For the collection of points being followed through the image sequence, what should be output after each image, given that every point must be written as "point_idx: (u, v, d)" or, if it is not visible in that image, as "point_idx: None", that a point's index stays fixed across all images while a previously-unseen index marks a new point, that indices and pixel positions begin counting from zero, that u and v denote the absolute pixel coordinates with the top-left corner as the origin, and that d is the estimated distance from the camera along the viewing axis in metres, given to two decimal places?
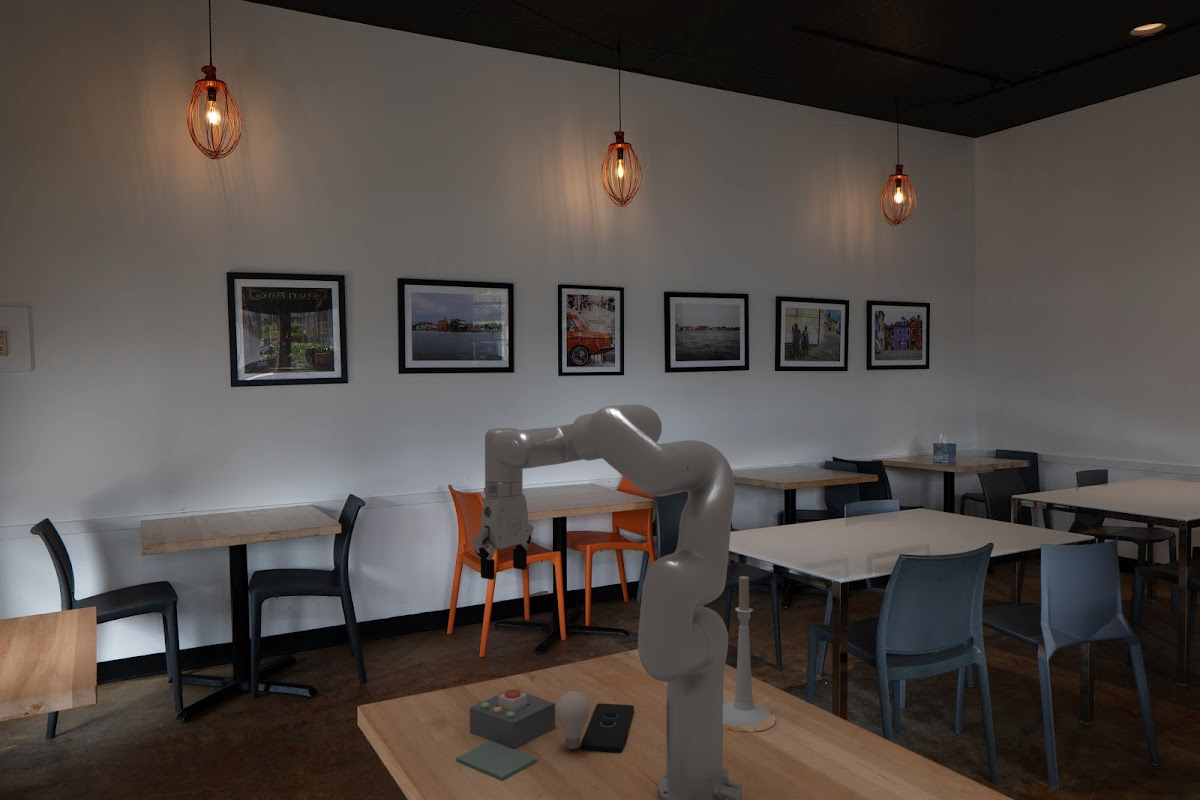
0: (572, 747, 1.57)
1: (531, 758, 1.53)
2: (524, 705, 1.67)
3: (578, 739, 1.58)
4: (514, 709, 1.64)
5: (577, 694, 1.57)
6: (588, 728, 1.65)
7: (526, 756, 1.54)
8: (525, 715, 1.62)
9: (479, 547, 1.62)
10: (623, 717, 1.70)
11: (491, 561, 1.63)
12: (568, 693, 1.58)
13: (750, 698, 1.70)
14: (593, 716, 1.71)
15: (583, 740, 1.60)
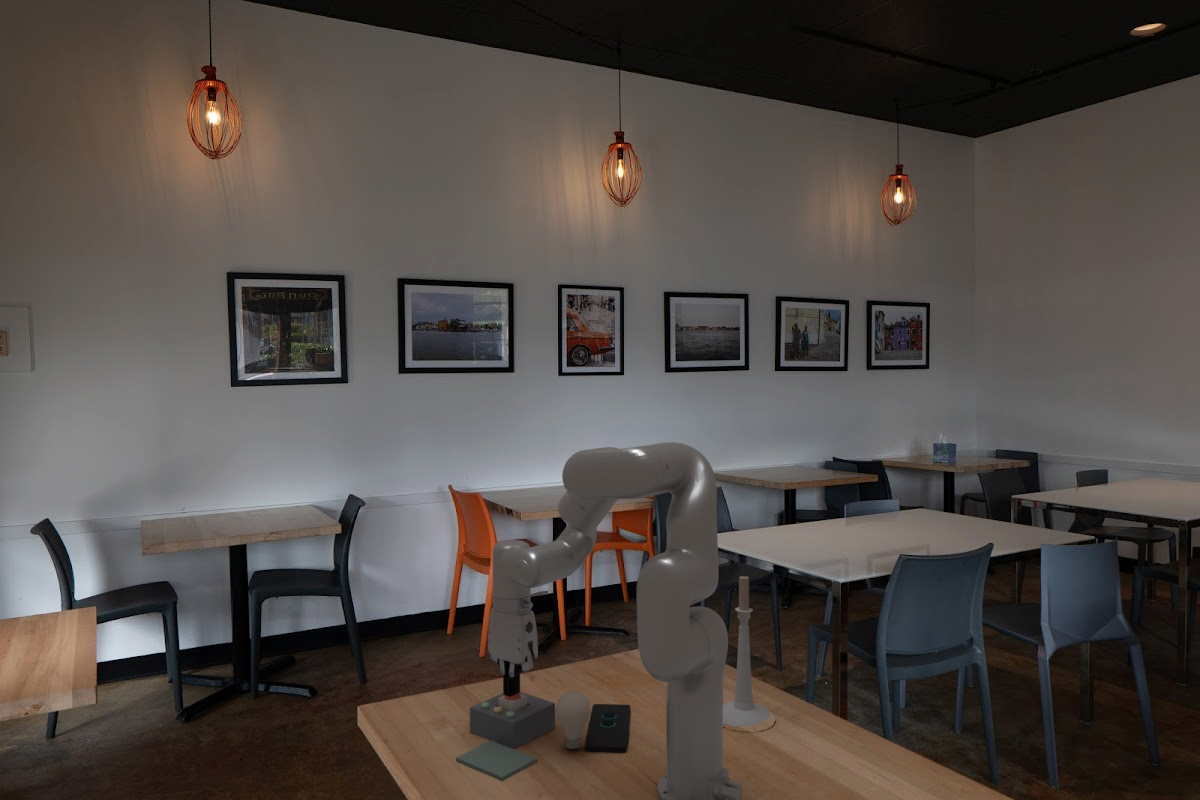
0: (572, 747, 1.57)
1: (531, 758, 1.53)
2: None
3: (578, 739, 1.58)
4: (514, 711, 1.64)
5: (577, 694, 1.57)
6: (589, 729, 1.65)
7: (526, 756, 1.54)
8: (525, 715, 1.62)
9: None
10: (622, 717, 1.70)
11: None
12: (568, 693, 1.58)
13: (750, 698, 1.70)
14: (592, 717, 1.70)
15: (586, 741, 1.59)
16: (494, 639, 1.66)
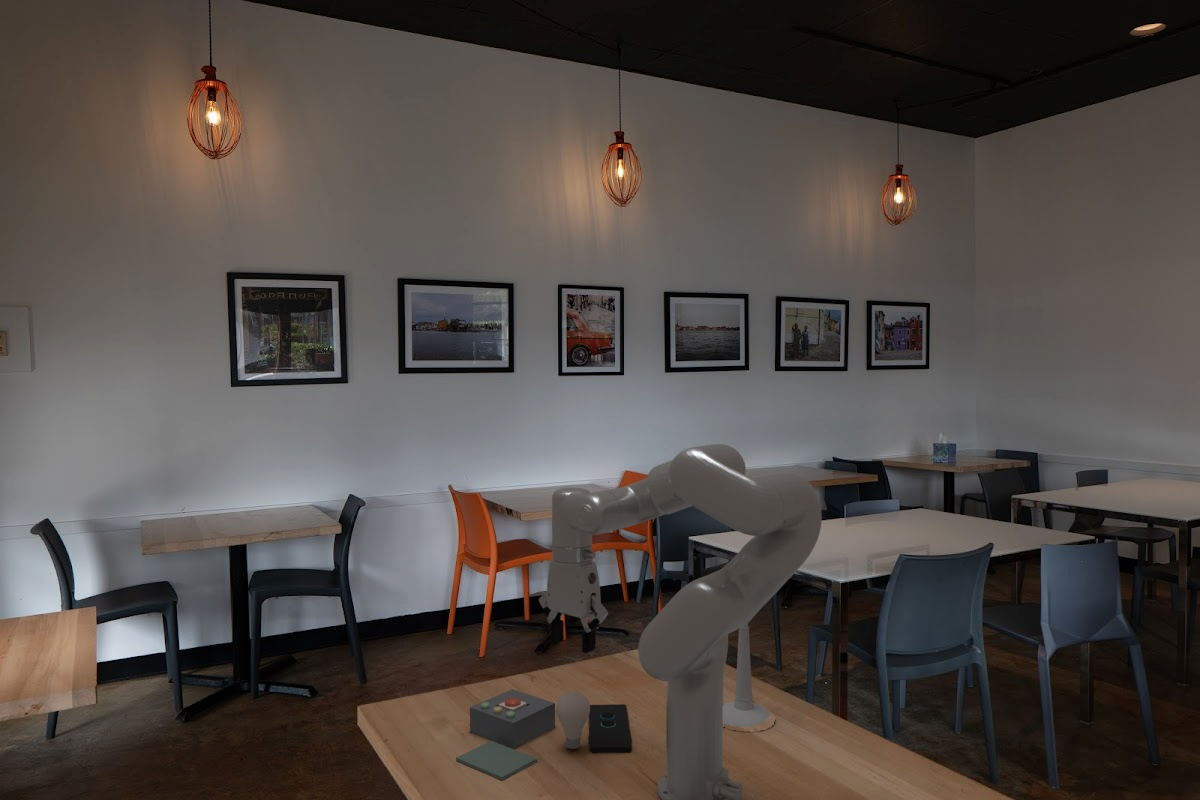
0: (572, 747, 1.57)
1: (531, 758, 1.53)
2: None
3: (578, 739, 1.58)
4: None
5: (577, 694, 1.57)
6: (590, 730, 1.64)
7: (526, 756, 1.54)
8: (525, 715, 1.62)
9: None
10: (621, 717, 1.70)
11: None
12: (568, 693, 1.58)
13: (750, 698, 1.70)
14: (590, 718, 1.70)
15: (591, 742, 1.59)
16: (554, 592, 1.57)
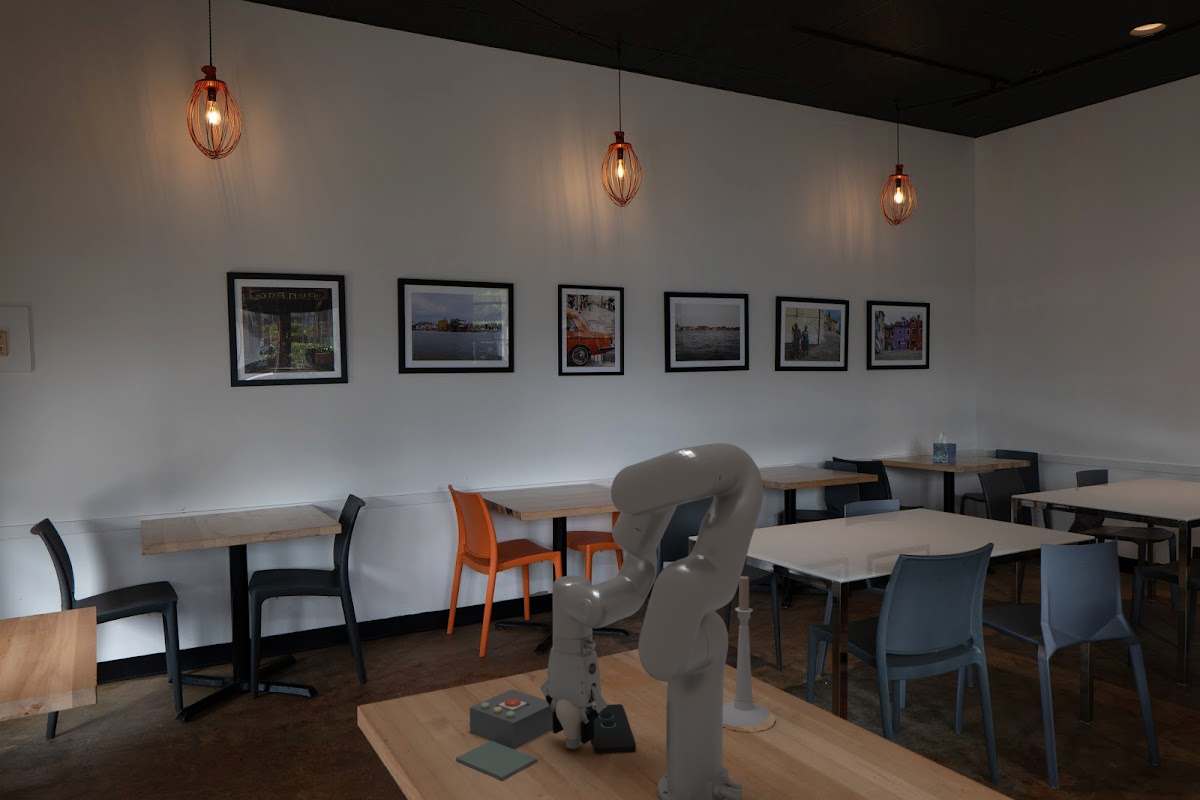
0: (572, 747, 1.57)
1: (531, 758, 1.53)
2: None
3: (578, 739, 1.58)
4: None
5: None
6: None
7: (526, 756, 1.54)
8: (525, 715, 1.62)
9: None
10: (619, 717, 1.70)
11: None
12: None
13: (750, 698, 1.70)
14: None
15: (595, 743, 1.58)
16: (554, 681, 1.58)
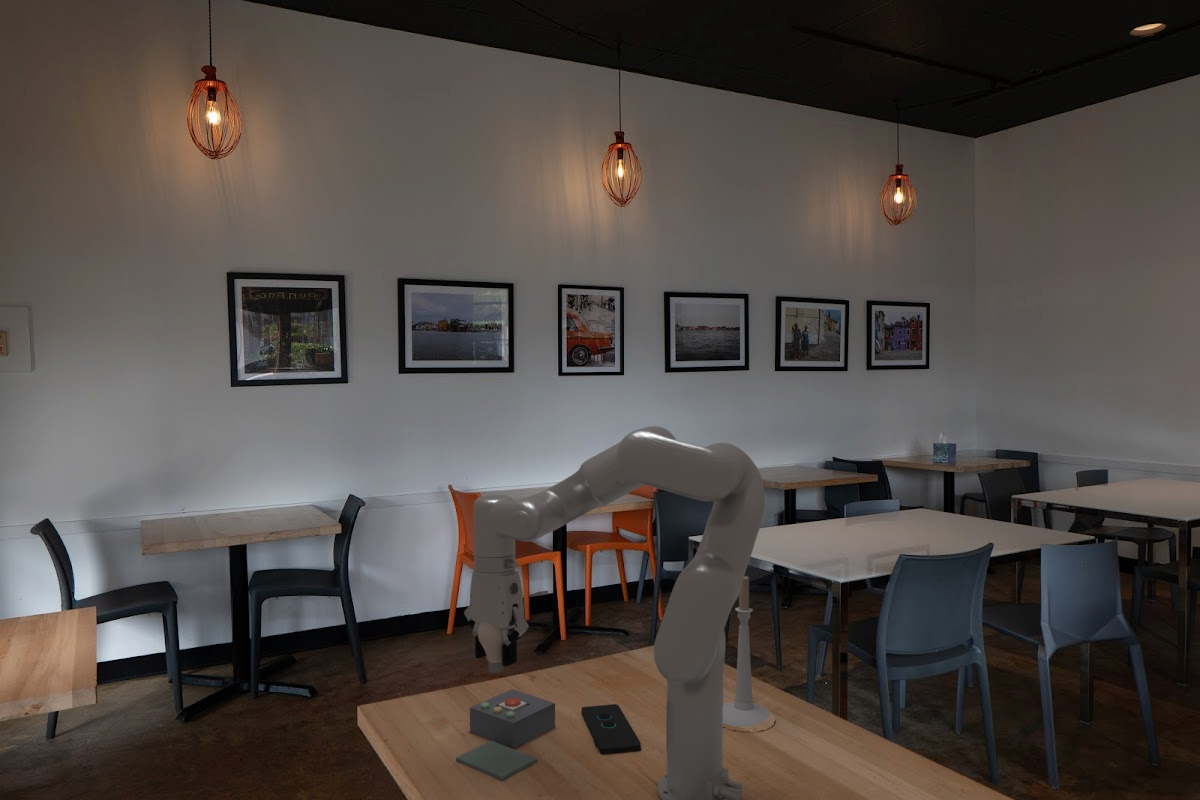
0: (494, 671, 1.52)
1: (531, 758, 1.53)
2: None
3: (501, 663, 1.52)
4: None
5: None
6: (594, 732, 1.63)
7: (526, 756, 1.54)
8: (525, 715, 1.62)
9: None
10: (618, 716, 1.70)
11: None
12: None
13: (750, 698, 1.70)
14: (588, 720, 1.69)
15: (600, 744, 1.58)
16: (476, 603, 1.52)
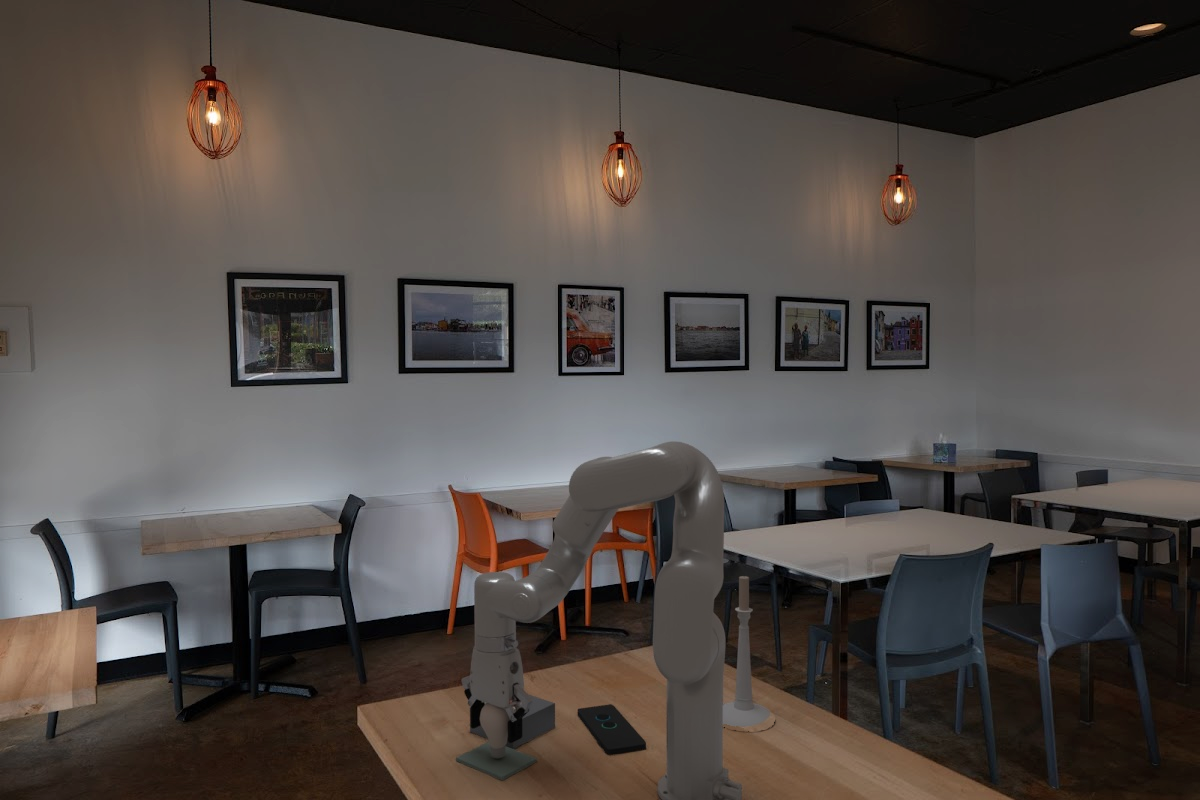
0: (496, 756, 1.52)
1: (531, 758, 1.53)
2: None
3: (502, 748, 1.53)
4: None
5: None
6: (596, 733, 1.63)
7: (526, 756, 1.54)
8: (525, 715, 1.62)
9: None
10: (616, 716, 1.70)
11: None
12: None
13: (750, 698, 1.70)
14: (587, 721, 1.68)
15: (605, 745, 1.58)
16: (477, 681, 1.53)
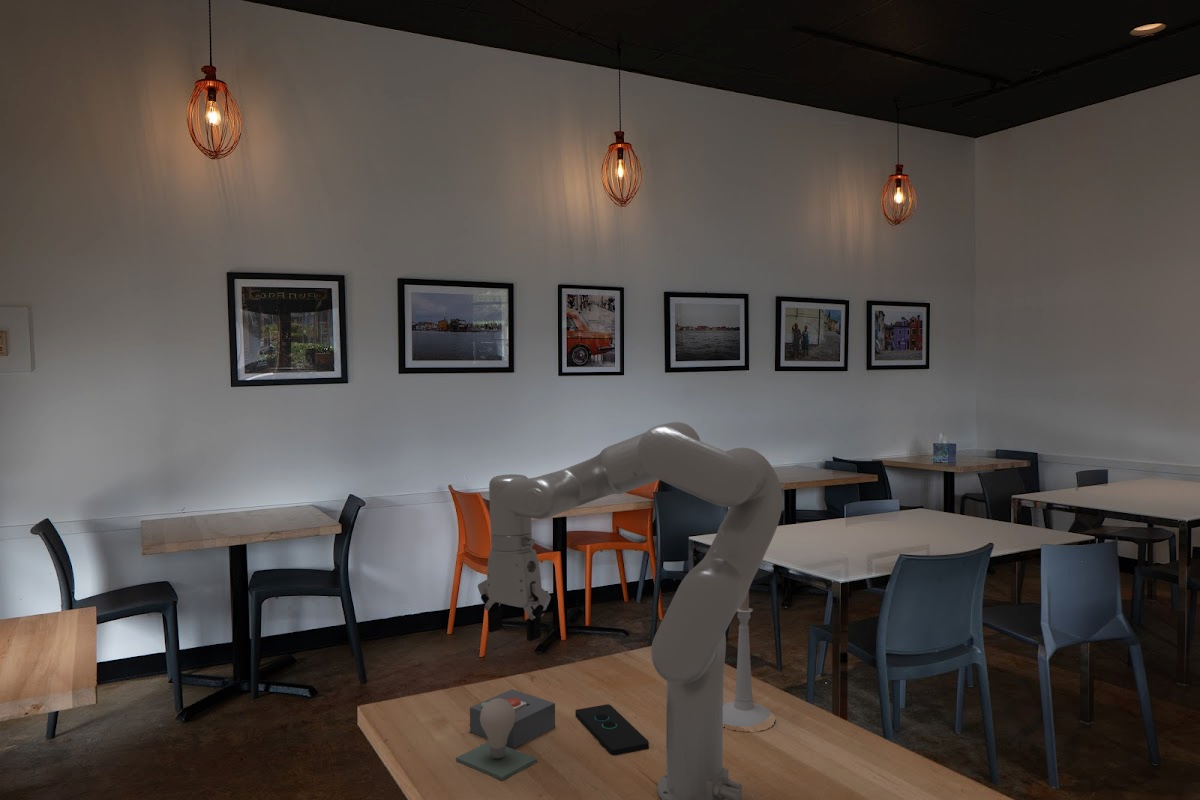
0: (496, 756, 1.52)
1: (531, 758, 1.53)
2: None
3: (502, 748, 1.53)
4: None
5: (502, 702, 1.52)
6: (598, 734, 1.62)
7: (526, 756, 1.54)
8: (525, 715, 1.62)
9: None
10: (615, 716, 1.70)
11: None
12: (492, 701, 1.53)
13: (750, 698, 1.70)
14: (587, 722, 1.68)
15: (609, 745, 1.57)
16: (494, 582, 1.53)
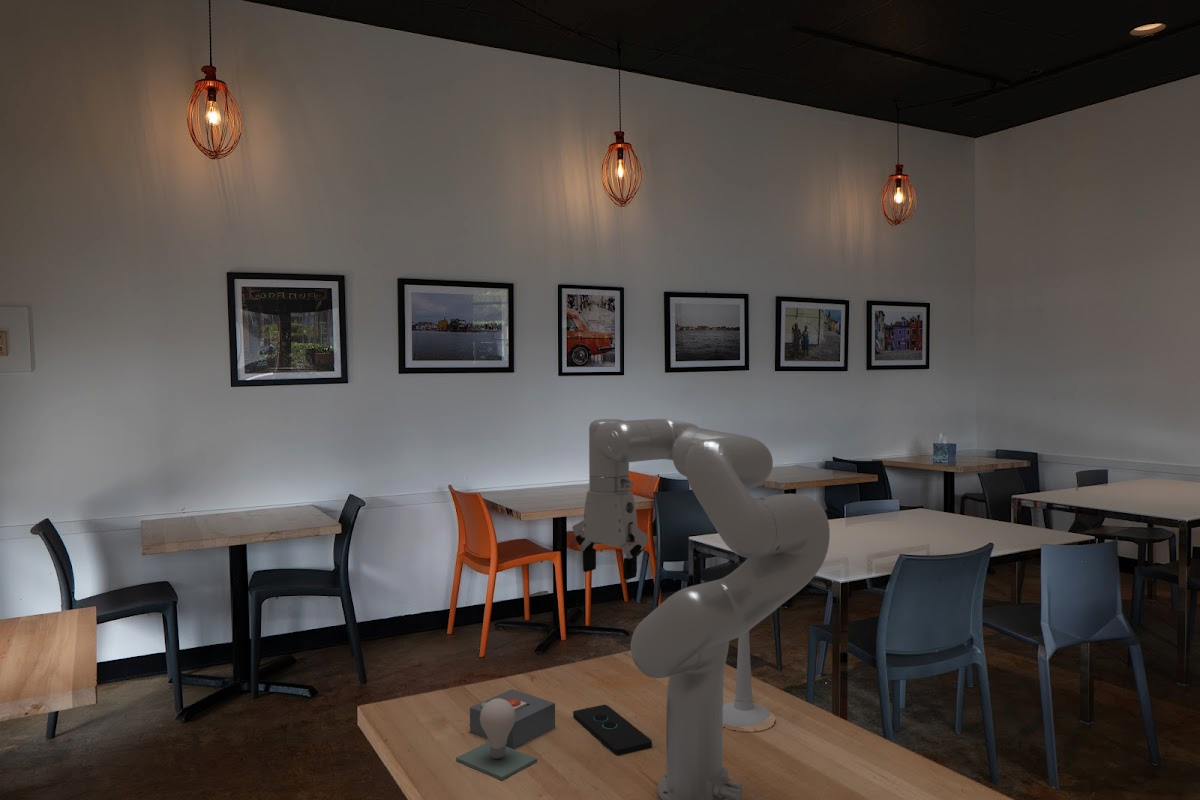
0: (496, 756, 1.52)
1: (531, 758, 1.53)
2: None
3: (502, 748, 1.53)
4: None
5: (501, 702, 1.52)
6: (600, 734, 1.62)
7: (526, 756, 1.54)
8: (525, 715, 1.62)
9: None
10: (614, 716, 1.70)
11: None
12: (492, 701, 1.53)
13: (750, 698, 1.70)
14: (587, 723, 1.67)
15: (612, 745, 1.57)
16: (591, 523, 1.57)
